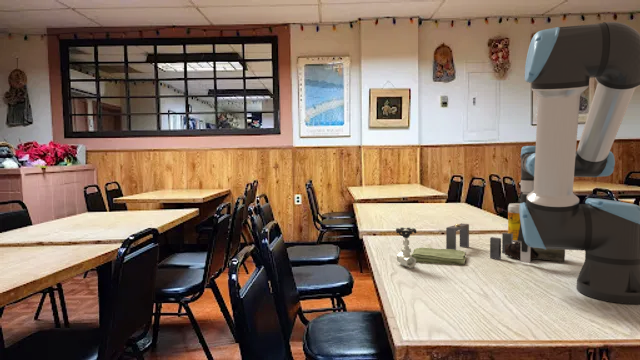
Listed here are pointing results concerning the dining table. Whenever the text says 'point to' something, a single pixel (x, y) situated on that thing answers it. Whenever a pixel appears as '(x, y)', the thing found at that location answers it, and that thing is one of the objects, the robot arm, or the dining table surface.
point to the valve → (406, 248)
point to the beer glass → (514, 220)
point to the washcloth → (439, 256)
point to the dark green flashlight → (535, 252)
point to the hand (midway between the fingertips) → (532, 257)
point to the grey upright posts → (464, 240)
